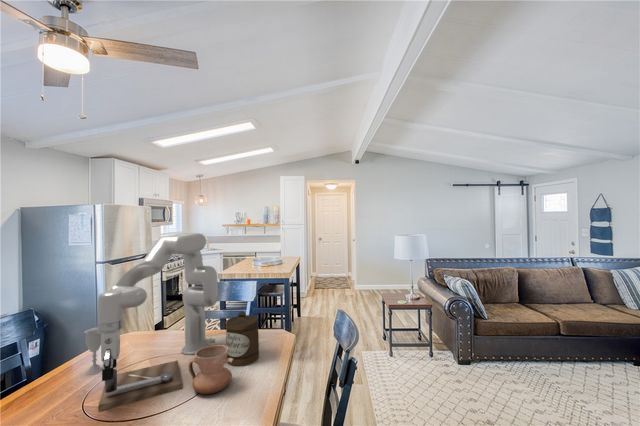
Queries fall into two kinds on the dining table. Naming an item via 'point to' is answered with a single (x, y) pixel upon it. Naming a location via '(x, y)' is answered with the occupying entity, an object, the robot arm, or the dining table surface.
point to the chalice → (93, 348)
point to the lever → (113, 389)
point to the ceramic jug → (211, 369)
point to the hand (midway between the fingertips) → (109, 373)
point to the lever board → (142, 392)
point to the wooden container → (242, 339)
